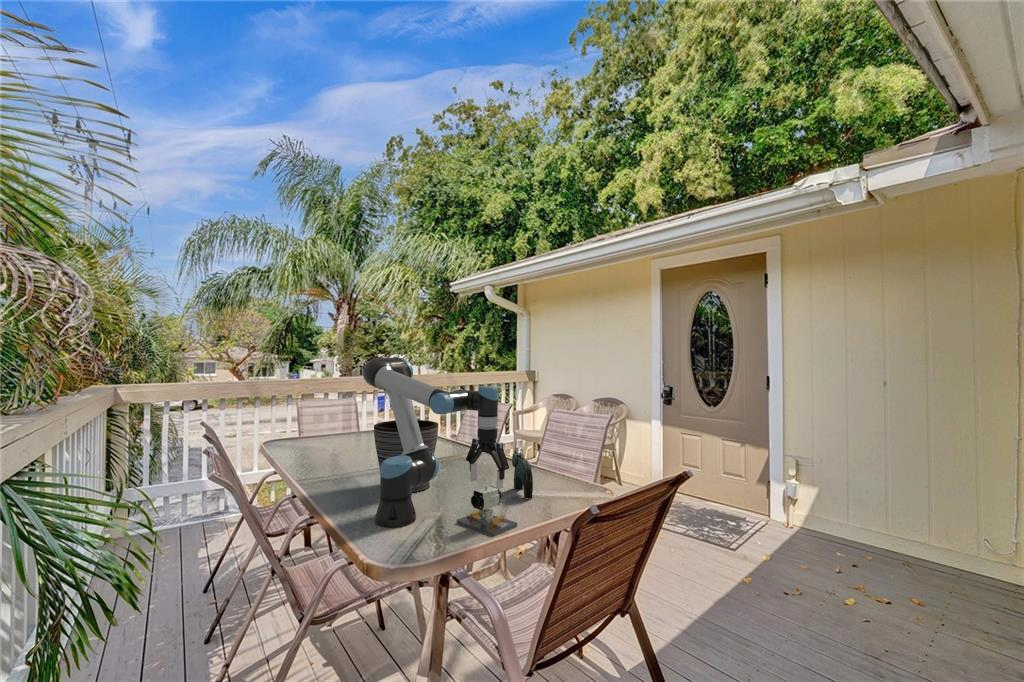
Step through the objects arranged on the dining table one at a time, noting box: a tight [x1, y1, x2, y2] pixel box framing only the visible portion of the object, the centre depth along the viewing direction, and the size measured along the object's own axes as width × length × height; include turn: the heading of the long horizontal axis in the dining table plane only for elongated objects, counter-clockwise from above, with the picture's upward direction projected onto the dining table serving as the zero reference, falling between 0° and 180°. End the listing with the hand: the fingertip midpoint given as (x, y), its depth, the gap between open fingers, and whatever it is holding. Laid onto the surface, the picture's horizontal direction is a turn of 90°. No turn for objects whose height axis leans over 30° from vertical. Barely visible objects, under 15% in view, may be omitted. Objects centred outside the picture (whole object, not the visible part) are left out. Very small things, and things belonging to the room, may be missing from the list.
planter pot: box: [373, 419, 439, 494], centre depth 220 cm, size 30×30×30 cm
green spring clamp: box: [511, 448, 534, 499], centre depth 213 cm, size 20×6×20 cm, turn 16°
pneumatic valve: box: [470, 485, 502, 521], centre depth 173 cm, size 6×12×12 cm, turn 135°
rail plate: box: [456, 509, 518, 537], centre depth 173 cm, size 13×19×4 cm
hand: (486, 484), depth 173 cm, fingers open, 13 cm apart
